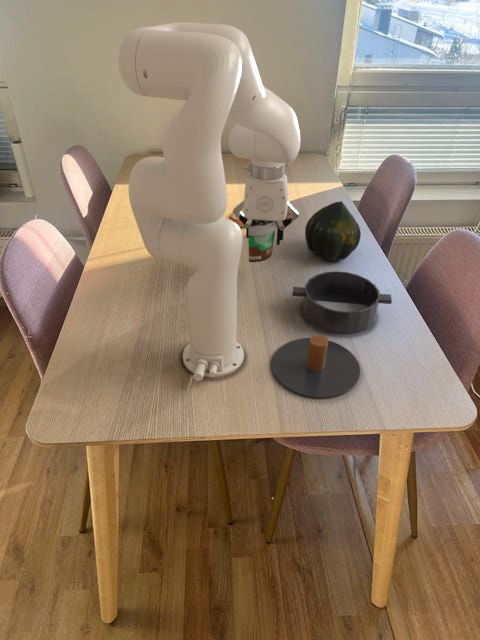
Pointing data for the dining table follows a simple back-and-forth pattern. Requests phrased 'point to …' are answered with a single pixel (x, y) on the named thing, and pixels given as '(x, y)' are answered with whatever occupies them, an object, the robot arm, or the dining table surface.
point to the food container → (261, 240)
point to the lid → (316, 367)
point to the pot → (340, 301)
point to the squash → (332, 232)
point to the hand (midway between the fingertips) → (264, 240)
